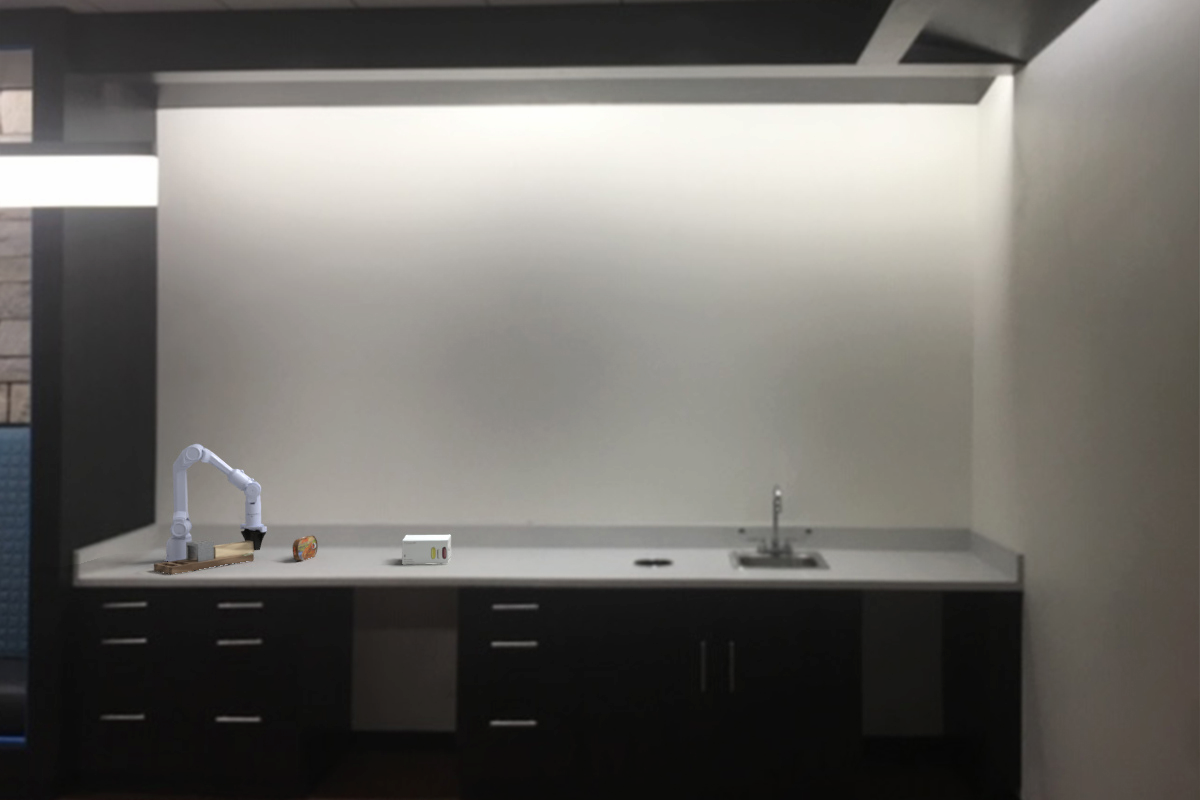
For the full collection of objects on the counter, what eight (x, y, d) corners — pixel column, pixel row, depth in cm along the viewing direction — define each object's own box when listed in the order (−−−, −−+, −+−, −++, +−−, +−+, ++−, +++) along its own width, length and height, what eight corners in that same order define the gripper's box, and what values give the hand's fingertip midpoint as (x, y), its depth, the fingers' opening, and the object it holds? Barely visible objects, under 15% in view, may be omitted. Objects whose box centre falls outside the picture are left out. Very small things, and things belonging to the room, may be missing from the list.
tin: (298, 562, 360) (298, 540, 360) (291, 562, 361) (290, 539, 361) (318, 555, 375) (318, 533, 375) (311, 555, 376) (310, 533, 375)
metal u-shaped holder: (186, 559, 353) (185, 542, 353) (201, 557, 358) (201, 539, 358) (198, 562, 348) (198, 544, 348) (213, 559, 353) (213, 541, 353)
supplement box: (401, 565, 354) (401, 540, 354) (406, 559, 367) (405, 534, 367) (448, 564, 355) (448, 539, 355) (451, 558, 368) (451, 533, 368)
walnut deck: (154, 570, 346) (154, 563, 346) (235, 557, 371) (235, 550, 371) (172, 574, 338) (172, 566, 338) (253, 561, 364) (253, 553, 364)
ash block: (209, 557, 358) (209, 546, 358) (248, 551, 371) (248, 540, 371) (215, 558, 356) (215, 547, 356) (254, 552, 369) (254, 541, 369)
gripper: (273, 514, 369) (274, 549, 369) (251, 511, 378) (251, 546, 378) (257, 516, 364) (257, 552, 364) (235, 513, 372) (235, 548, 373)
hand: (253, 549), depth 371 cm, fingers closed on ash block, 4 cm apart
